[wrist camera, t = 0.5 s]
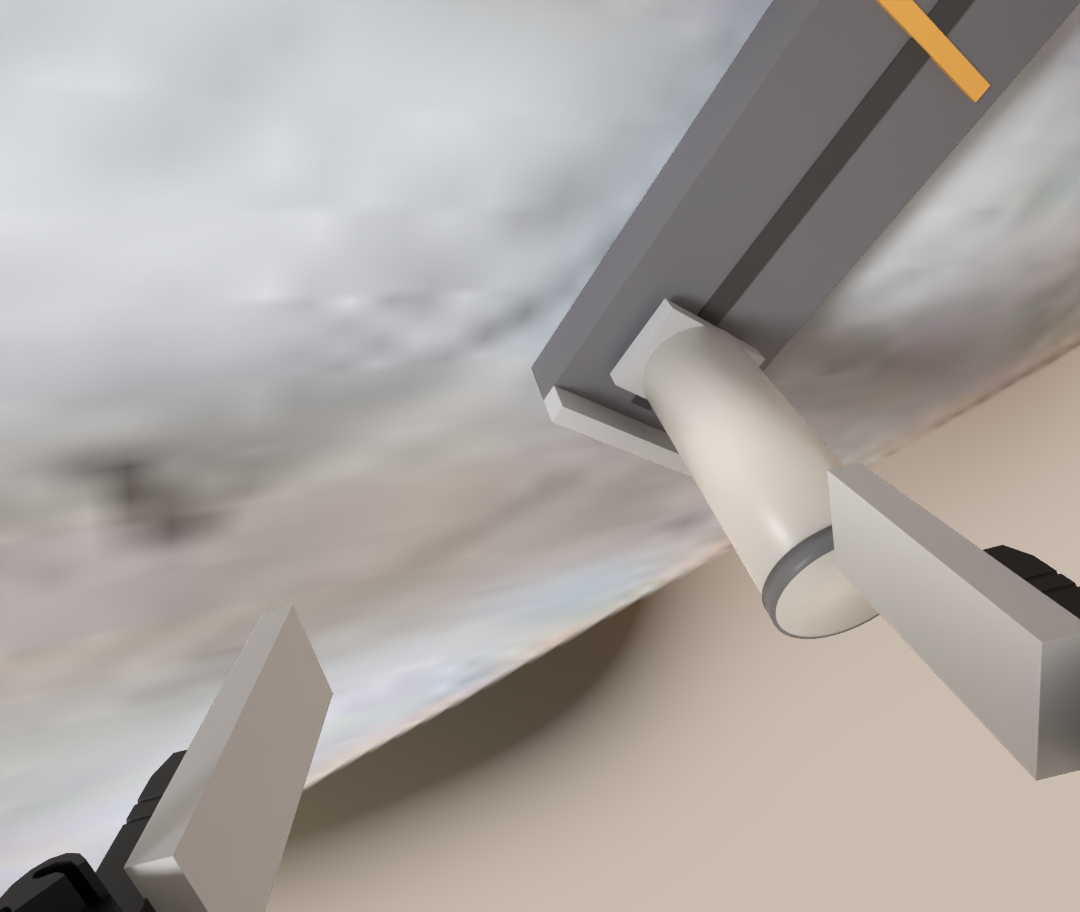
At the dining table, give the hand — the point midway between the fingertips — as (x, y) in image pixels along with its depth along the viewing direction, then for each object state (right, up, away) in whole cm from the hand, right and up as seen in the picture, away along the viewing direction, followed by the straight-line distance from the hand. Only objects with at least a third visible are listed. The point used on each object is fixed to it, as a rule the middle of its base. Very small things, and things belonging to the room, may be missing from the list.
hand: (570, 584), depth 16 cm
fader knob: (+5, +7, +11) cm, 14 cm away
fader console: (+8, +14, +10) cm, 19 cm away
